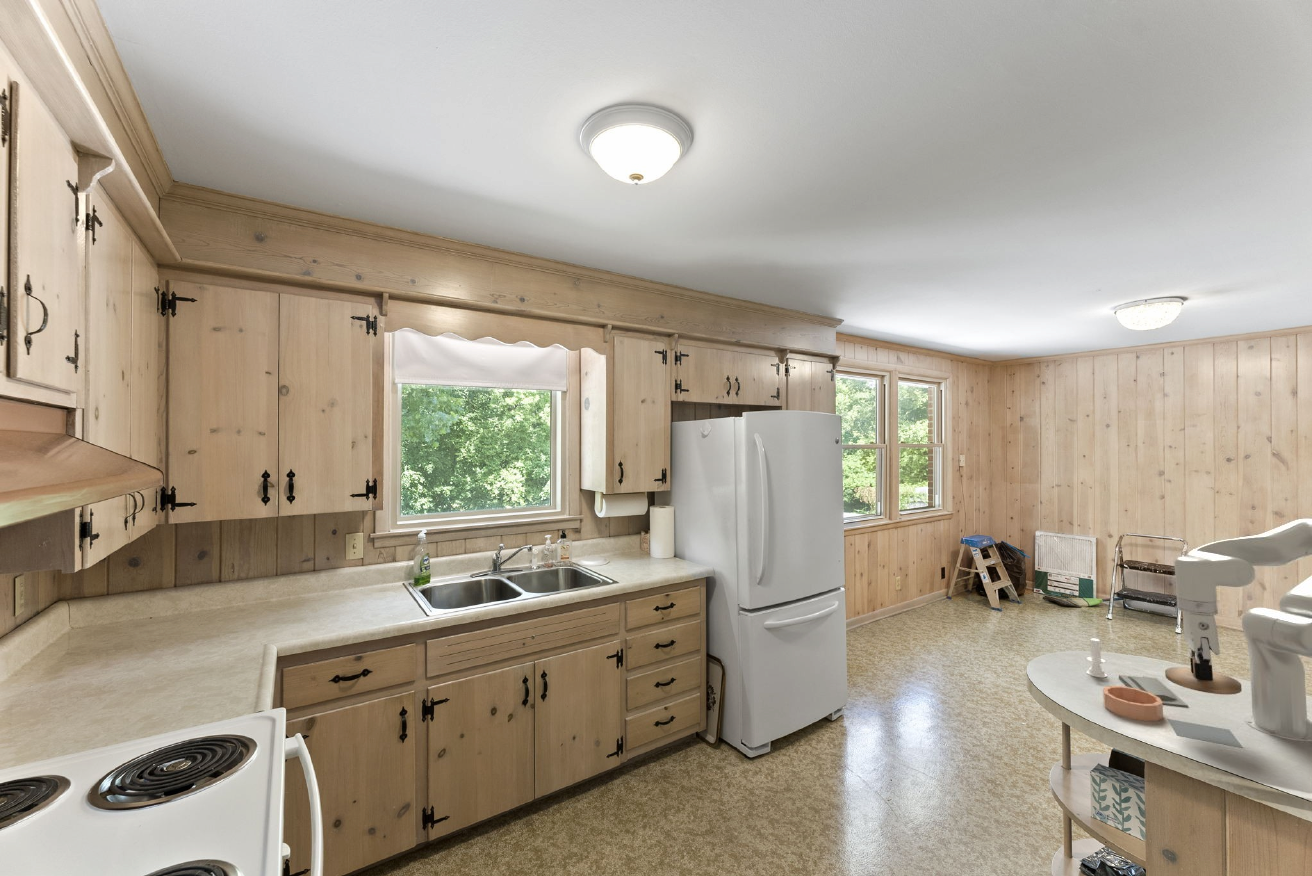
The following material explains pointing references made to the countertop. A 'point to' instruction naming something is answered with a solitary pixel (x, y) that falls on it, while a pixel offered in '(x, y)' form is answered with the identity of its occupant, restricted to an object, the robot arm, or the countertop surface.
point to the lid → (1203, 681)
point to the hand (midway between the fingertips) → (1201, 676)
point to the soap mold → (1153, 689)
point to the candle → (1096, 659)
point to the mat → (1204, 733)
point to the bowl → (1133, 703)
